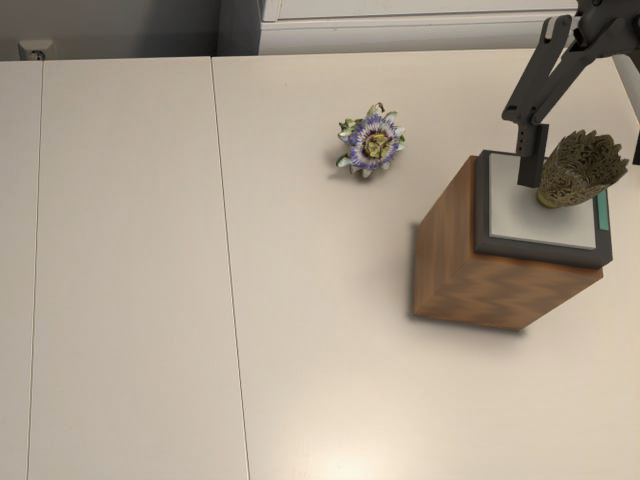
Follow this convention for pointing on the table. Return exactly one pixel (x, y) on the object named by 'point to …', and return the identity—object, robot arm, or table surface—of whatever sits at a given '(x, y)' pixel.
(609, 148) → the sea sponge
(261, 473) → the table surface
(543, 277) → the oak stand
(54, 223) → the table surface
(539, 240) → the kitchen scale
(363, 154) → the passion flower
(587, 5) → the robot arm
